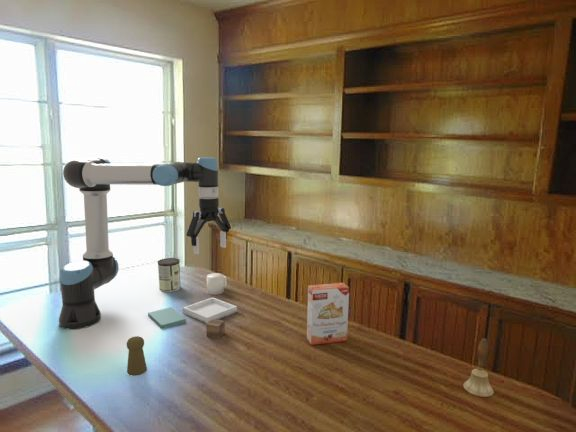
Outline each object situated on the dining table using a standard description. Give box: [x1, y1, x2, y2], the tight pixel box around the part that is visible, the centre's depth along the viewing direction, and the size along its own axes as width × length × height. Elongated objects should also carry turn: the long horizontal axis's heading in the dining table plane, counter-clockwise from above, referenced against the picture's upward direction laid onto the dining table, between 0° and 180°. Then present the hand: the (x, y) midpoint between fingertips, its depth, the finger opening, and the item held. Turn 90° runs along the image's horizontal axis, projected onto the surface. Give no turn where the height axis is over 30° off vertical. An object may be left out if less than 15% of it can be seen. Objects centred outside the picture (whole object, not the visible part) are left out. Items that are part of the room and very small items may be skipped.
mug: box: [206, 272, 228, 296], centre depth 207 cm, size 10×8×8 cm
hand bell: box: [462, 337, 494, 398], centre depth 126 cm, size 8×8×16 cm
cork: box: [126, 335, 148, 377], centre depth 135 cm, size 6×6×11 cm
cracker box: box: [306, 282, 350, 346], centre depth 156 cm, size 14×6×21 cm, turn 105°
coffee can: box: [157, 257, 181, 293], centre depth 210 cm, size 10×10×14 cm
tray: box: [182, 296, 238, 324], centre depth 182 cm, size 16×16×2 cm
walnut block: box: [205, 319, 226, 339], centre depth 161 cm, size 5×5×5 cm
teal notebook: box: [147, 307, 187, 330], centre depth 175 cm, size 10×15×2 cm, turn 37°
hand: (210, 250), depth 171 cm, fingers open, 13 cm apart
